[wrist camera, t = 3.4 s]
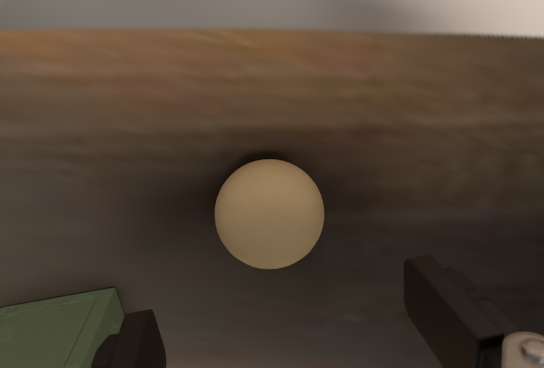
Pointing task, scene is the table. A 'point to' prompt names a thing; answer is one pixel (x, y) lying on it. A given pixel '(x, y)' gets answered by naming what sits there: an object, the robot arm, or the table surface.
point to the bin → (58, 330)
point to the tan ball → (269, 214)
